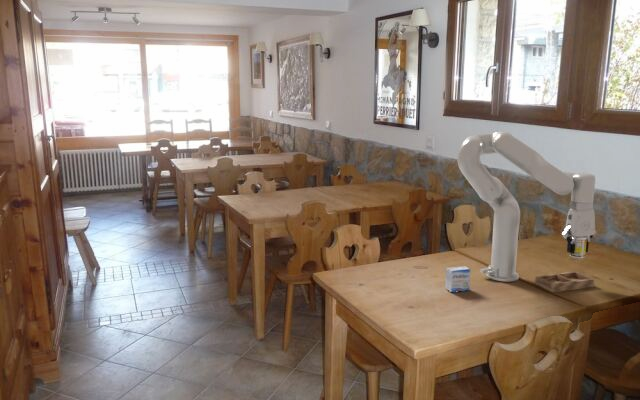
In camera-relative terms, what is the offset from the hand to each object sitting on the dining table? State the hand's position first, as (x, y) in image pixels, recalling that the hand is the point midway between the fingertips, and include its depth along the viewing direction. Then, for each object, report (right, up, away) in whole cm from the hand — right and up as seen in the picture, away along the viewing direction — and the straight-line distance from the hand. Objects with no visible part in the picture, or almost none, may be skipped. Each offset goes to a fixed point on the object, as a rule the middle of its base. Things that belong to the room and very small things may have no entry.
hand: (577, 251), depth 197 cm
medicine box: (-47, -15, -2) cm, 49 cm away
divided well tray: (-4, -13, +1) cm, 14 cm away
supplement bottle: (0, -2, 0) cm, 2 cm away
